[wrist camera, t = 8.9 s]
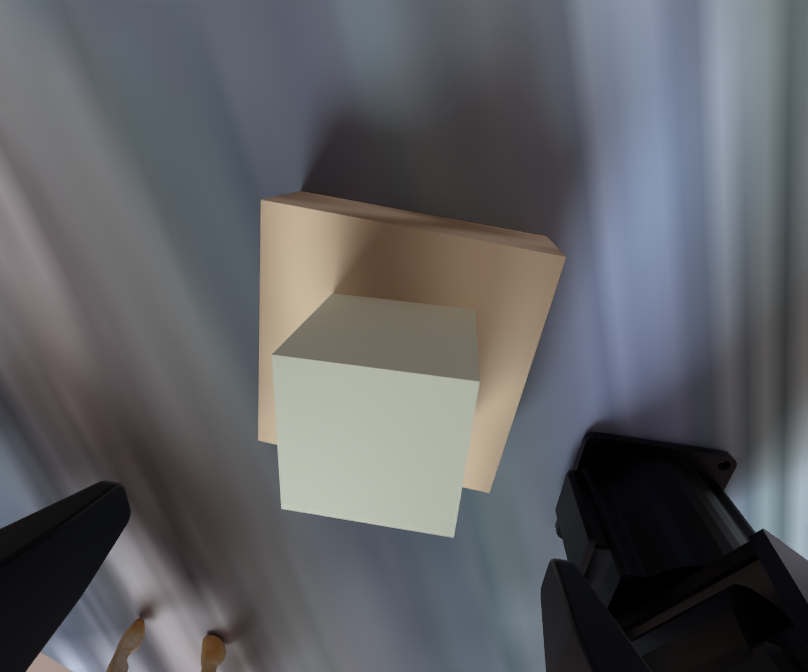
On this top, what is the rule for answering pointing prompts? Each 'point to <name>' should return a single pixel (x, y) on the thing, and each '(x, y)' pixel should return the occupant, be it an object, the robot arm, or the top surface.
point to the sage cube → (377, 412)
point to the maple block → (410, 293)
